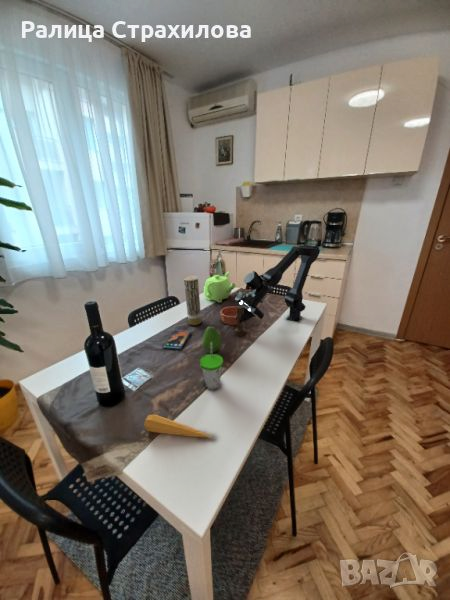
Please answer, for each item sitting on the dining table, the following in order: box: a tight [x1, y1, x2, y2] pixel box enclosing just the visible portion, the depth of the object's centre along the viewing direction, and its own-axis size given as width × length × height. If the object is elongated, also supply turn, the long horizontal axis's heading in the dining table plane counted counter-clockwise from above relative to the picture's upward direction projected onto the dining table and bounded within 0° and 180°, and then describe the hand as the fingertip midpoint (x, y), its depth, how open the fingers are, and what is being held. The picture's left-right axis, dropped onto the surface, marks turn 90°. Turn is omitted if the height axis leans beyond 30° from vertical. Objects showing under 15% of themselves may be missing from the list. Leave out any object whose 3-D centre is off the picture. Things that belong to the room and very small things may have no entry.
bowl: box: [220, 305, 237, 326], centre depth 127 cm, size 13×13×5 cm
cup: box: [199, 342, 224, 391], centre depth 80 cm, size 8×8×15 cm
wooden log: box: [183, 275, 202, 326], centre depth 121 cm, size 7×7×25 cm
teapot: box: [203, 271, 237, 303], centre depth 154 cm, size 25×22×16 cm
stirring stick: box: [235, 305, 246, 337], centre depth 112 cm, size 4×4×14 cm
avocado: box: [201, 325, 222, 354], centre depth 100 cm, size 8×8×12 cm
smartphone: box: [163, 329, 192, 350], centre depth 111 cm, size 8×1×15 cm
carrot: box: [143, 414, 215, 439], centre depth 66 cm, size 20×4×4 cm, turn 78°
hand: (237, 320), depth 112 cm, fingers closed on stirring stick, 3 cm apart
